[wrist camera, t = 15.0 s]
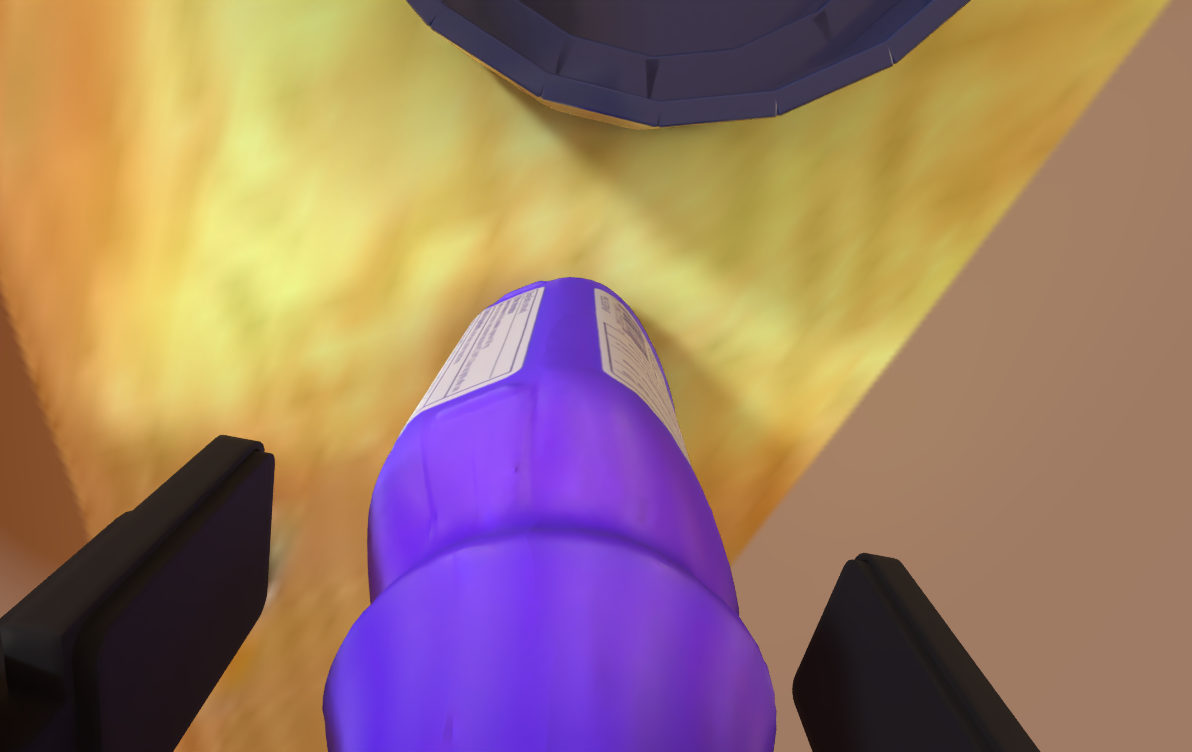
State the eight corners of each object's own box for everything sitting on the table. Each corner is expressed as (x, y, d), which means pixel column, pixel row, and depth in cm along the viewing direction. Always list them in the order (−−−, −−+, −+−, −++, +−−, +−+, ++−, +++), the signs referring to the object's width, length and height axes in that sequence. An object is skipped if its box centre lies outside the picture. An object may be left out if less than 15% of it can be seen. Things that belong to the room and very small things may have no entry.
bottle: (437, 306, 20) (-296, 1172, 3) (612, 236, 19) (810, 863, 3) (533, 501, 22) (394, 1564, 6) (692, 444, 21) (1056, 1452, 5)
